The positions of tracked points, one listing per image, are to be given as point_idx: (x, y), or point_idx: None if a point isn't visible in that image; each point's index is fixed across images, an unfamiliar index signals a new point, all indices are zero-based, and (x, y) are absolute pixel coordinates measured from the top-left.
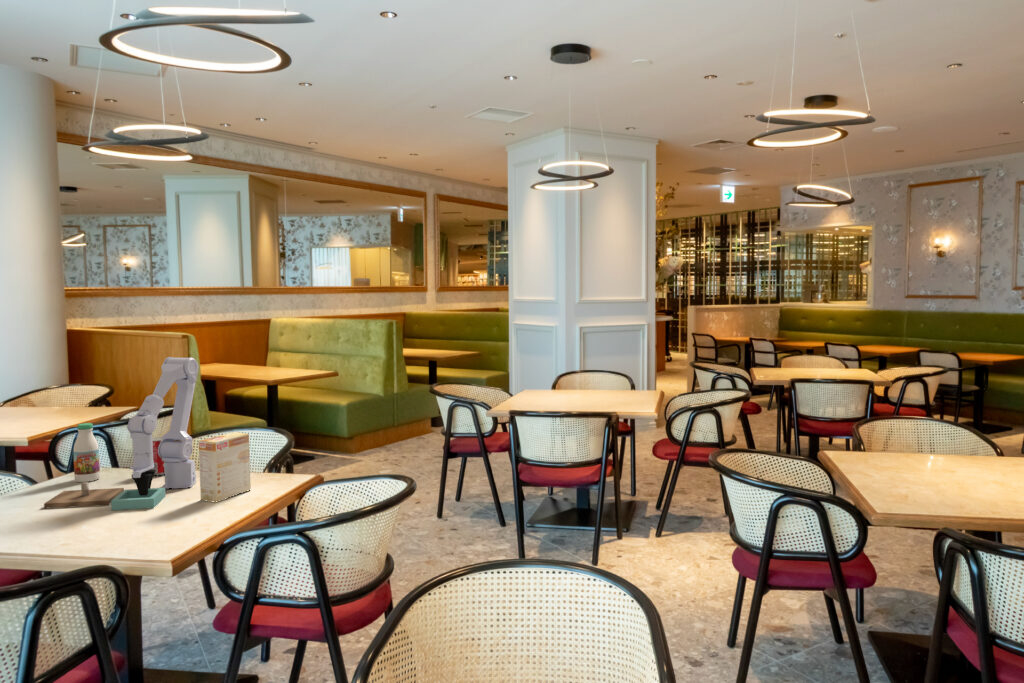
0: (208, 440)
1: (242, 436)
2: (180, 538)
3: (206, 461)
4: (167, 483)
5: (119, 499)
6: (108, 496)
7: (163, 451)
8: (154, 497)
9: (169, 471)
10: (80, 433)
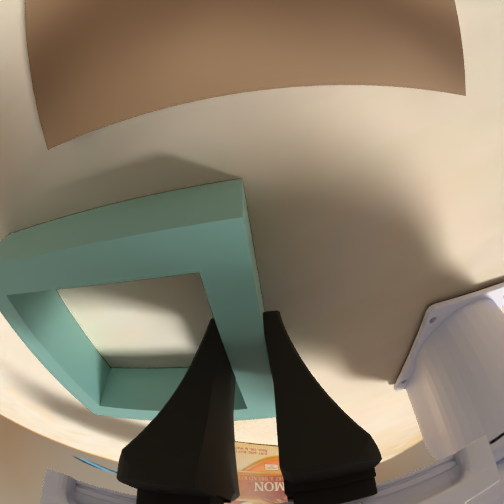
0: None
1: None
2: (13, 413)
3: None
4: (443, 342)
5: (5, 305)
6: (159, 62)
7: None
8: (106, 415)
9: (458, 409)
10: None
